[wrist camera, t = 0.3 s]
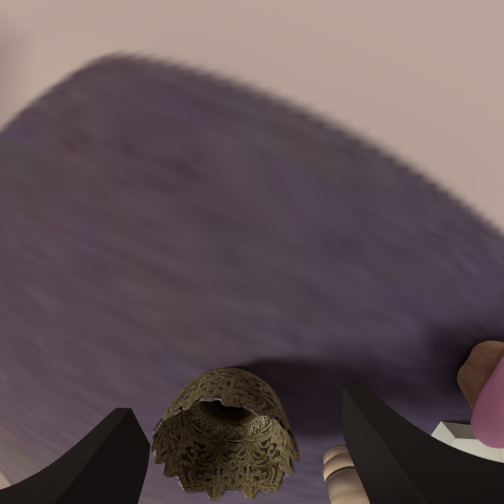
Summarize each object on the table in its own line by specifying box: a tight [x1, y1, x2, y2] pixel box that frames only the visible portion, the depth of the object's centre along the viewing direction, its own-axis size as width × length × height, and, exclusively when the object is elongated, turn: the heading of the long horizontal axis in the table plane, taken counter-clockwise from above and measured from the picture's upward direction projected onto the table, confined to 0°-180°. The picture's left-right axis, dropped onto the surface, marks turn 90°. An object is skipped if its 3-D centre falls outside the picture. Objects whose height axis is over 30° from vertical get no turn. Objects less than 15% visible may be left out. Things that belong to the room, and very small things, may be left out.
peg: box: [322, 445, 370, 504], centre depth 17 cm, size 3×3×8 cm
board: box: [431, 421, 504, 463], centre depth 20 cm, size 12×16×3 cm
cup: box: [151, 367, 300, 501], centre depth 16 cm, size 8×7×8 cm
